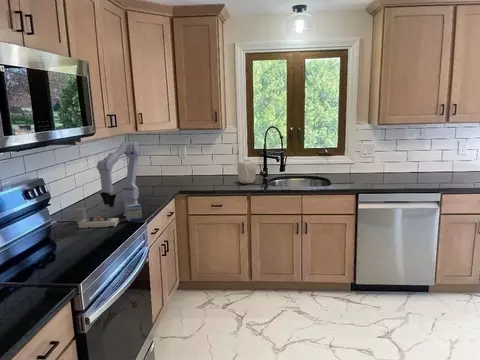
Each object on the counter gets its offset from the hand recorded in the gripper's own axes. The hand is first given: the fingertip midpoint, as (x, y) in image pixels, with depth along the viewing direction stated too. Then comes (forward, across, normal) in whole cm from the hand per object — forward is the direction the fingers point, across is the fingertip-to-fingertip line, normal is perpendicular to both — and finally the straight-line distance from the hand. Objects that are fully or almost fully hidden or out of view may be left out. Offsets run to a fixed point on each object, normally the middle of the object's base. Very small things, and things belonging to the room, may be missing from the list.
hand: (109, 205), depth 209 cm
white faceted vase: (+11, -35, +128) cm, 133 cm away
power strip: (+10, -1, -6) cm, 12 cm away
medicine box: (+10, +2, +13) cm, 17 cm away
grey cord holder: (+10, -15, -12) cm, 22 cm away
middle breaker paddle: (+7, -1, -6) cm, 10 cm away
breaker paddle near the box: (+7, +2, -3) cm, 8 cm away
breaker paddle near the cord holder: (+7, -3, -9) cm, 12 cm away
